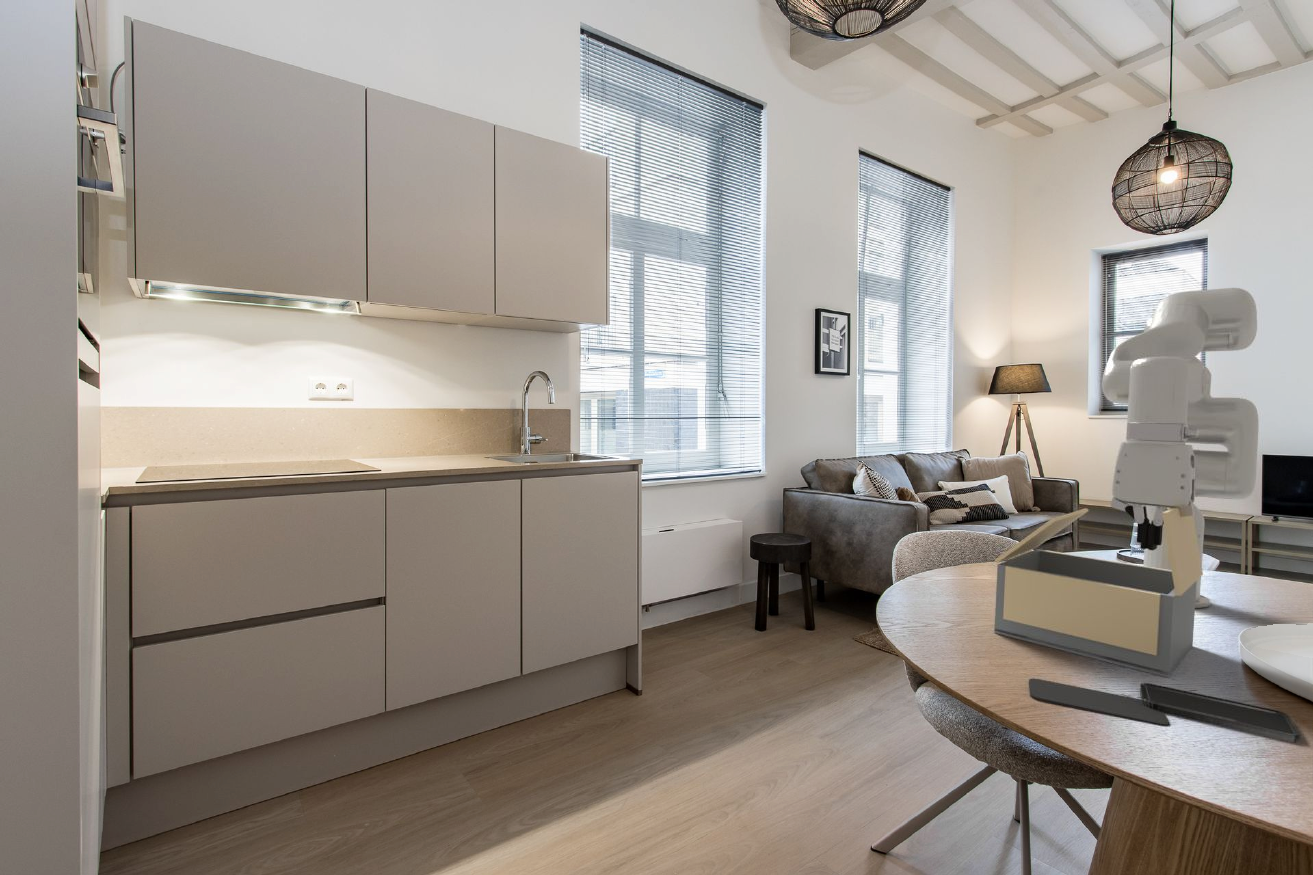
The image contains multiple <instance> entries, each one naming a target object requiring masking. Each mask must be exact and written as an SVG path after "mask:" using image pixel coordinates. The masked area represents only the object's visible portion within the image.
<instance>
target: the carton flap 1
mask: <svg viewBox="0 0 1313 875" xmlns="http://www.w3.org/2000/svg"><path fill="white" fill-rule="evenodd" d="M1089 511H1090V510H1089V509H1088V508H1087V507H1086V508H1081V509H1079V510H1075V511H1072V512H1069V513H1065V514H1063V515H1060V516H1056V517H1054V518H1050V519H1049V520H1048V521H1047V522H1045V523H1043V525H1041V526H1039V527H1038V528H1037V529H1035V530H1034V531H1033V532H1031V533H1029V535H1027V536H1025V538H1022V539H1021V540H1020V541H1019V542H1017V543H1016V544H1014V545H1013V546H1012V547H1011V548H1009V549H1008V550H1006V551H1005V552H1003V553H1002V554H1000V555H999V556H998V557H996V559H994V562H995V563H996V564H999V563H1000V562H1001V563H1002V562H1004V561H1005V560H1006V561H1007V560H1010V559H1012V558H1013V557H1014V558H1015V557H1017V556H1020V555H1021V554H1022V555H1023V554H1025V553H1028V552H1031V551H1033V550H1036V549H1037V548H1038V547H1039V546H1041V545H1042V544H1044V543H1045V542H1046V541H1048V540H1049V539H1050V538H1052V537H1054V536H1055V535H1056V534H1057V533H1059V532H1061V531H1062V530H1063V529H1065V528H1066V527H1068V526H1069V525H1070V524H1072V523H1074V522H1075V521H1076V520H1078V519H1079V518H1080V517H1082V516H1083V515H1085V514H1086V513H1088V512H1089Z"/></svg>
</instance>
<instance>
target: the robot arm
mask: <svg viewBox="0 0 1313 875" xmlns="http://www.w3.org/2000/svg"><path fill="white" fill-rule="evenodd" d="M1257 317H1258V311H1257V304H1256V301H1255V299H1254V297H1253V295H1252V294H1251V293H1250V292H1249V291H1247V290H1245V289H1243V288H1240V287H1226V288H1214V289H1199V290H1191V291H1190V290H1188V291H1181V292H1177V293H1172V294H1170V295H1168V296H1166V297H1164V298H1162V300H1160V301H1159V302H1158V303H1157V305H1156V307H1155V309H1154V311H1153V314H1152V316H1150V318H1147V320H1146V321H1145V324H1144V327H1143V328H1144V329H1143V332H1141V333H1139V334H1136V335H1134V336H1132V337H1131V338H1128V339H1126V340H1125V341H1123V342H1121V343H1120V344H1118V345H1117V346H1116V347H1115V348H1114V349H1113V350H1112V352H1111V353H1110V355H1109V357H1108V360H1107V362H1106V365H1105V368H1104V370H1103V374H1102V380H1101V388H1102V393H1103V395H1104V397H1105V398H1106V400H1108V401H1109V402H1112V403H1113V404H1121V405H1127V419H1126V420H1127V421H1126V422H1127V423H1126V435H1125V436H1126V437H1125V438H1126V440H1125V441H1121V443H1120V445H1119V449H1118V452H1117V456H1116V461H1115V467H1114V472H1113V479H1112V488H1111V490H1112V491H1111V492H1112V500H1111V502H1110V507H1111V508H1113V509H1115V510H1119V511H1121V512H1122V511H1123V512H1126V513H1127V514H1128V515H1129V516H1130V517H1131V518H1132V519H1133V520H1134V522H1135V523H1136V524H1137V527H1136V528H1137V529H1136V543H1139V544H1140V546H1139V547H1140V550H1143V565H1142V566H1148V567H1154V568H1160V569H1167V570H1171V564H1170V558H1169V551H1168V545H1167V539H1166V533H1165V527H1164V521H1163V515H1162V513H1163V512H1165V511H1167V510H1169V509H1172V508H1180V509H1179V510H1180V516H1181V517H1185V516H1192V515H1193V517H1194V523H1195V529H1196V535H1197V541H1198V547H1199V553H1200V559H1201V565H1202V566H1203V556H1204V555H1203V553H1204V539H1205V538H1204V537H1205V536H1204V535H1205V524H1206V522H1205V517H1204V515H1203V513H1202V512H1201V510H1200V509H1199V508H1198V507H1197V505H1196V504H1195V503H1194V502H1195V499H1196V498H1197V497H1199V498H1210V499H1211V498H1212V499H1222V500H1244V499H1246V498H1249V497H1250V496H1252V494H1253V492H1254V490H1255V487H1256V478H1257V465H1258V464H1257V463H1258V462H1257V460H1258V445H1259V444H1258V443H1259V413H1258V410H1257V408H1256V405H1255V404H1254V402H1252V401H1251V400H1249V399H1246V398H1242V397H1241V398H1240V397H1212V396H1211V388H1212V373H1211V372H1210V369H1209V368H1208V367H1207V366H1206V365H1205V363H1203V362H1202V361H1201V360H1200V359H1199V358H1198V357H1197V356H1198V355H1199V354H1200V353H1203V352H1227V351H1228V352H1233V351H1240V350H1244V349H1247V348H1249V347H1250V346H1252V344H1253V343H1254V341H1255V339H1256V337H1257V336H1256V335H1257V331H1258V318H1257ZM1192 444H1198V445H1199V444H1201V445H1202V444H1204V445H1220V446H1223V447H1225V448H1226V449H1227V451H1225V450H1223V451H1222V450H1220V451H1219V450H1205V449H1204V450H1202V449H1193V448H1194V447H1193V445H1192ZM1201 584H1202V576H1201V577H1200V578H1199V579H1198V580H1197V583H1196V599H1195V609H1197V608H1198V609H1201V608H1202V609H1203V608H1207V607H1209V606H1210V603H1211V601H1210V599H1209V598H1208V597H1206V596H1204V595H1202V594H1201Z"/></svg>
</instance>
